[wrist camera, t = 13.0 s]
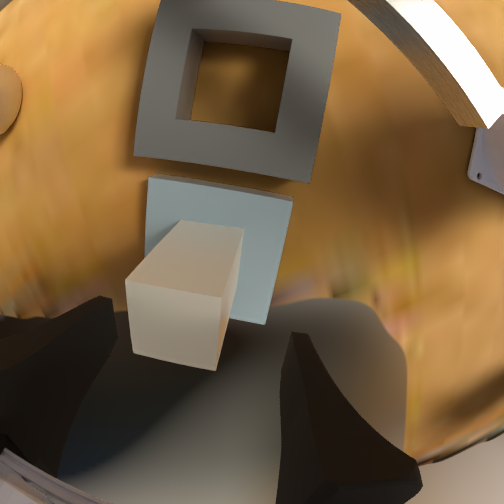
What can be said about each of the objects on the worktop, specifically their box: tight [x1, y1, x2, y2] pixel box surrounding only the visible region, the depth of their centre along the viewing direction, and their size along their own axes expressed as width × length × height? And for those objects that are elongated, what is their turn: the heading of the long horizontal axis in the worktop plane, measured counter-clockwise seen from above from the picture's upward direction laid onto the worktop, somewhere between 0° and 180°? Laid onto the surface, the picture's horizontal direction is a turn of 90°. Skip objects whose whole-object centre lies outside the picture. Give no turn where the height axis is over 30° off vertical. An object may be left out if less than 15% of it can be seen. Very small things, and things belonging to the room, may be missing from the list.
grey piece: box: [348, 0, 504, 129], centre depth 10 cm, size 13×2×10 cm, turn 47°
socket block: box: [133, 0, 341, 184], centre depth 15 cm, size 10×10×3 cm
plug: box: [125, 220, 244, 370], centre depth 16 cm, size 4×4×8 cm
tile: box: [145, 174, 293, 324], centre depth 20 cm, size 9×9×2 cm
